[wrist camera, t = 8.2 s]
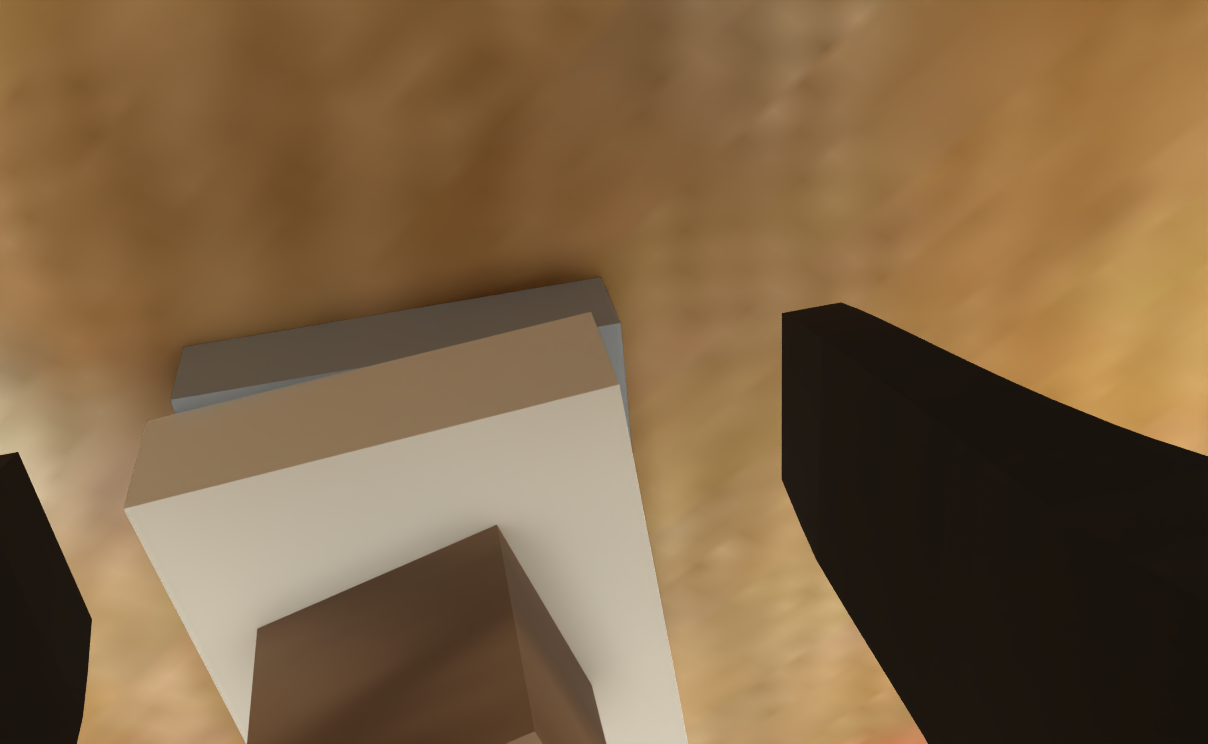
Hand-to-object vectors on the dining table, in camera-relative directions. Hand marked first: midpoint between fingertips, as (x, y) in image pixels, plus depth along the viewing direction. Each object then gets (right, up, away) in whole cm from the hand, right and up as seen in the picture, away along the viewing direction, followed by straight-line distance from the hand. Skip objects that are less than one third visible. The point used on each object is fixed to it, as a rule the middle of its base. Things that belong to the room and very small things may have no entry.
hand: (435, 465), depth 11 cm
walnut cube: (-1, -4, +10) cm, 11 cm away
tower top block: (-2, -3, +12) cm, 12 cm away
